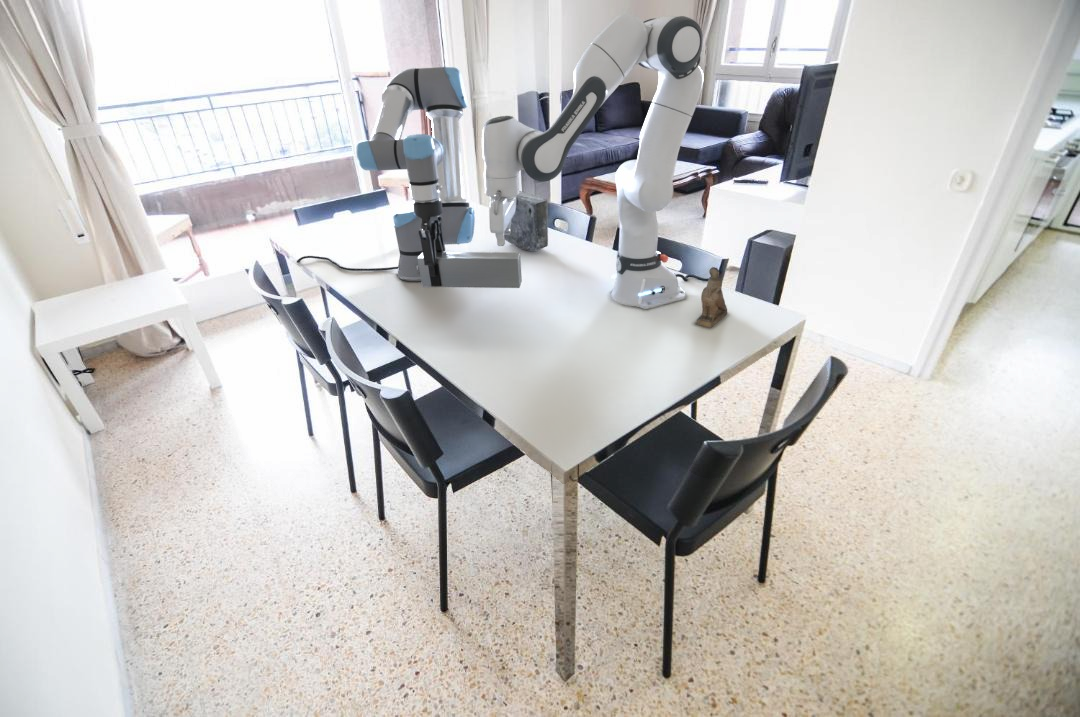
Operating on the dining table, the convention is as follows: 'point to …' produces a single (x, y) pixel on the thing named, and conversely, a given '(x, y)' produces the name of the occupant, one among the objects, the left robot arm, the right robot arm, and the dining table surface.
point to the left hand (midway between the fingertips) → (439, 282)
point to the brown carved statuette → (712, 301)
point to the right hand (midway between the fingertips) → (504, 239)
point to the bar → (475, 269)
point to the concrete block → (529, 223)
